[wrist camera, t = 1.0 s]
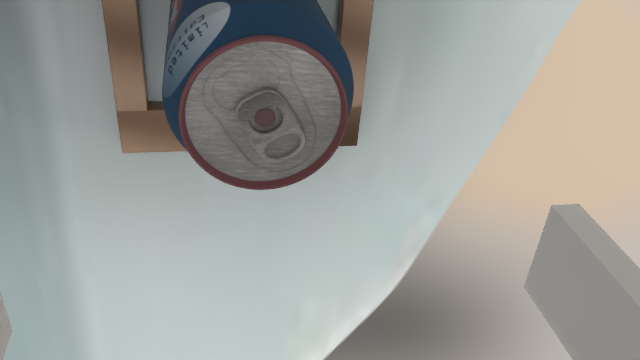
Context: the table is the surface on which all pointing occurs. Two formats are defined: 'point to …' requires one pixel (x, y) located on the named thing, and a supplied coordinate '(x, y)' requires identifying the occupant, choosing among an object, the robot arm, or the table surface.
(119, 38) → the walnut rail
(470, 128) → the table surface
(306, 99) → the soda can
